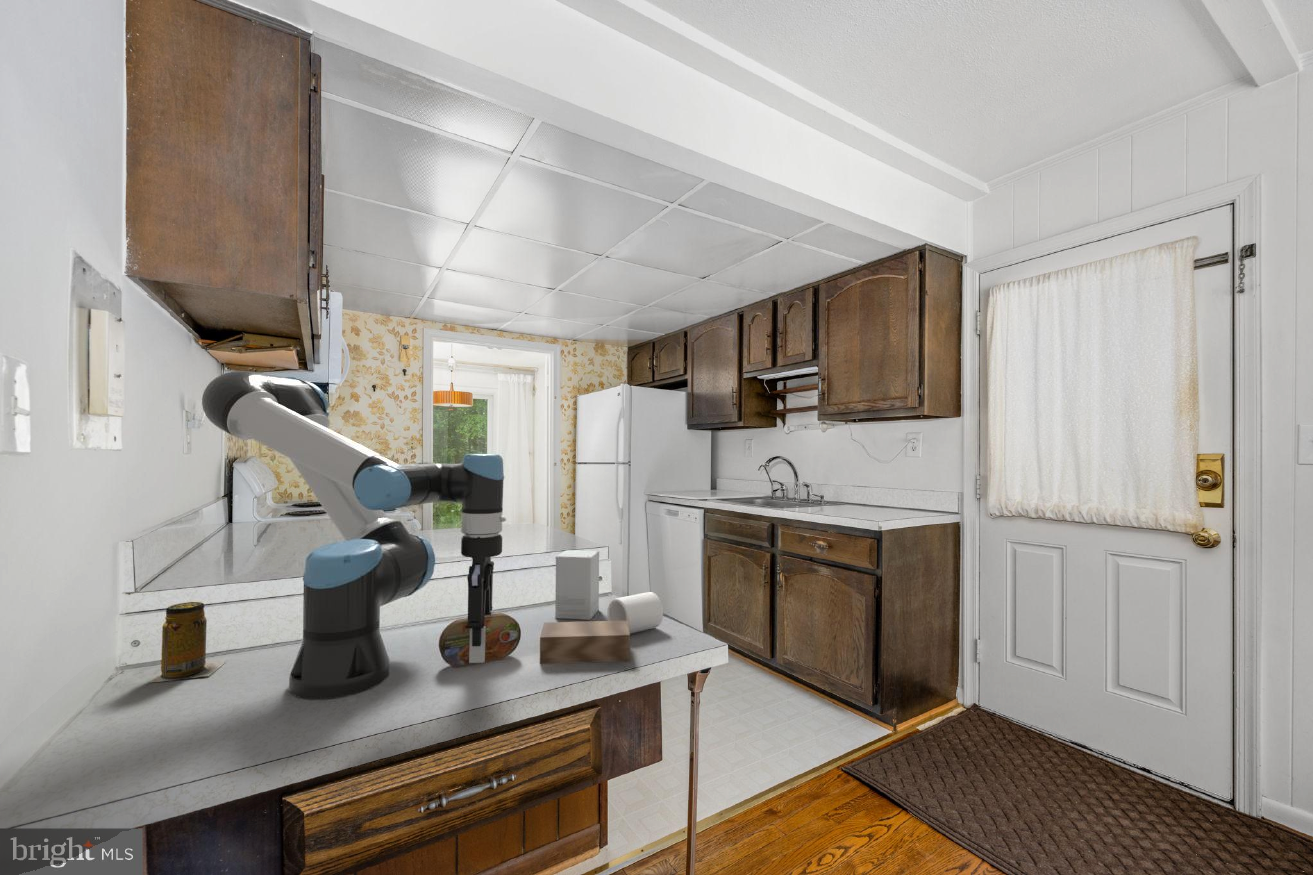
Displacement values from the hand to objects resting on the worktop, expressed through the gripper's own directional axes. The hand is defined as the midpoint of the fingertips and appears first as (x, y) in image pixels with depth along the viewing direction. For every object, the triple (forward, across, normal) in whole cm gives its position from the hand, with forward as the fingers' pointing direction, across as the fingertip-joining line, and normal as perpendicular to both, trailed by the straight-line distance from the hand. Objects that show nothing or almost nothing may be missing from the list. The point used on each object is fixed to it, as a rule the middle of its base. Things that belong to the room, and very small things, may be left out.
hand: (479, 656), depth 106 cm
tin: (+1, 0, 0) cm, 1 cm away
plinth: (+1, +2, -20) cm, 20 cm away
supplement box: (+1, +29, -18) cm, 34 cm away
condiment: (+1, -1, +50) cm, 50 cm away
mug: (+1, +17, -30) cm, 35 cm away
